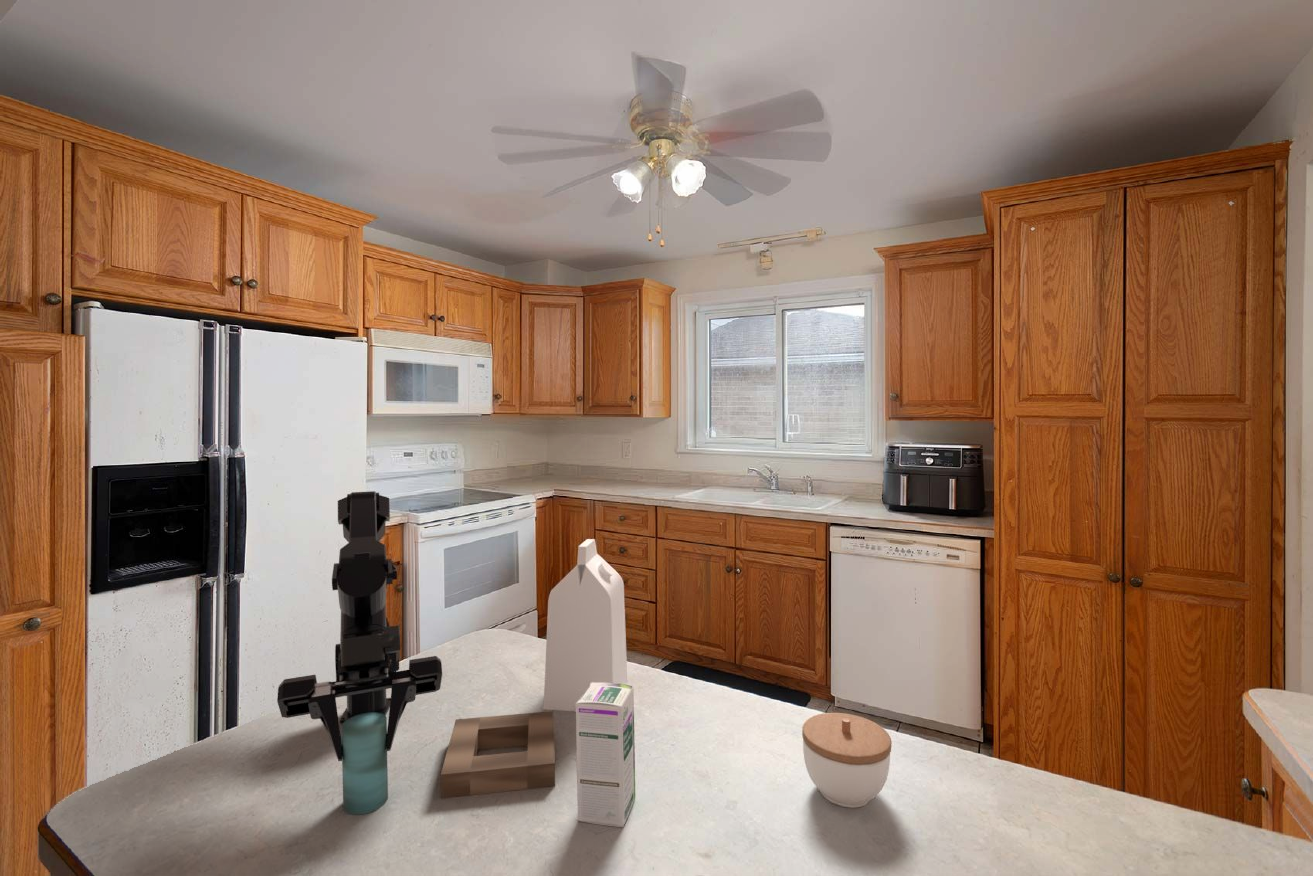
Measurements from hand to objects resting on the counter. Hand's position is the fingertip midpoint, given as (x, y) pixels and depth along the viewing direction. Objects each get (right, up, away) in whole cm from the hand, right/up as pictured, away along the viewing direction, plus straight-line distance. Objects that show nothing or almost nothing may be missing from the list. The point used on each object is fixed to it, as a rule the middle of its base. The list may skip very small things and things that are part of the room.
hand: (364, 754), depth 75 cm
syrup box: (+29, -7, 0) cm, 30 cm away
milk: (+24, -6, +31) cm, 39 cm away
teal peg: (-1, -7, +2) cm, 7 cm away
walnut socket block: (+14, -6, +10) cm, 19 cm away
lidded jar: (+59, -7, +4) cm, 59 cm away
